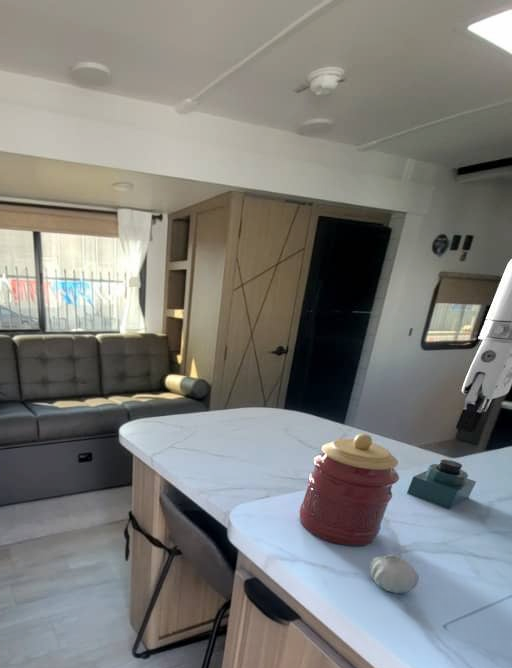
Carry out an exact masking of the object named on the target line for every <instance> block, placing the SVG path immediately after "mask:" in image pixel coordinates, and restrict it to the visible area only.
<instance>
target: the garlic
mask: <svg viewBox="0 0 512 668" xmlns="http://www.w3.org/2000/svg"><path fill="white" fill-rule="evenodd" d="M369 570H370V571H369V572H370V575H371V578H372V580H373V581H374V583H375V584H376V585H377V586H378V587H380V588H381V589H383V590H384V591H386V592H390V593H394V594H405V593H408V592H409V591H412V590H413V589H415V588H416V587H417V586H418V584H419V580H420V575H419V574H418V572H417V571H416V569H415V567H414V566H413V565H412V564H411V563H410V562H408V561H407V560H406V559H404V558H401V557H399V556H398V555H395V554H390V555H389V554H386V555H383V556H376V557H374V558H373V559H372V560H371V561H370V567H369Z"/></svg>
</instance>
